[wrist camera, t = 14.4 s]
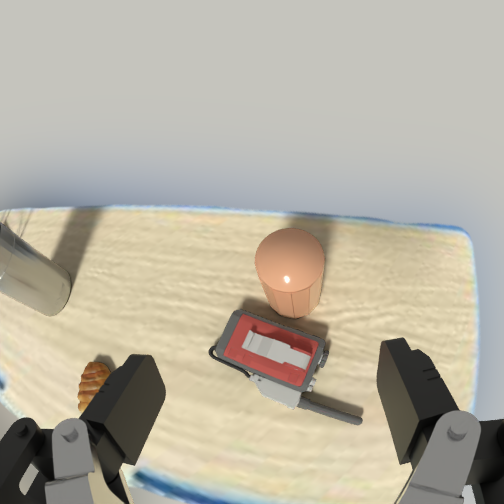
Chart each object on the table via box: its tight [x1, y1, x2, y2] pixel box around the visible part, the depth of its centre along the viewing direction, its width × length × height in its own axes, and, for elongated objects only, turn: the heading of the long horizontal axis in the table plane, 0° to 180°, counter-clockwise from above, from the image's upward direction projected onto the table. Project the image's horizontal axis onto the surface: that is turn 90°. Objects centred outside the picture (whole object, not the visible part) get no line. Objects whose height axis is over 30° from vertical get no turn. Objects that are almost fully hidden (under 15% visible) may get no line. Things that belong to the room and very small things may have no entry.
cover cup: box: [255, 228, 325, 319], centre depth 32 cm, size 7×7×10 cm
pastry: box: [78, 362, 111, 413], centre depth 32 cm, size 9×7×4 cm
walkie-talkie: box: [209, 309, 363, 425], centre depth 30 cm, size 9×4×20 cm
